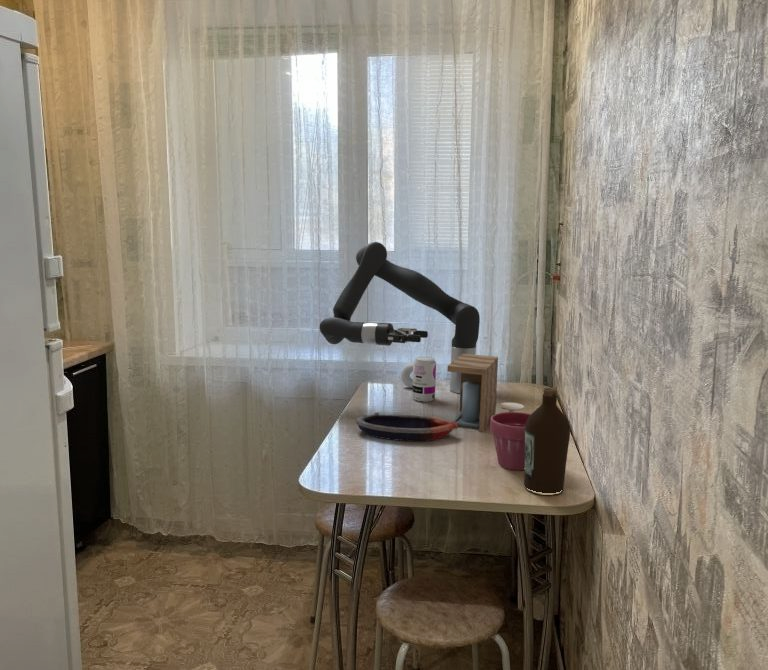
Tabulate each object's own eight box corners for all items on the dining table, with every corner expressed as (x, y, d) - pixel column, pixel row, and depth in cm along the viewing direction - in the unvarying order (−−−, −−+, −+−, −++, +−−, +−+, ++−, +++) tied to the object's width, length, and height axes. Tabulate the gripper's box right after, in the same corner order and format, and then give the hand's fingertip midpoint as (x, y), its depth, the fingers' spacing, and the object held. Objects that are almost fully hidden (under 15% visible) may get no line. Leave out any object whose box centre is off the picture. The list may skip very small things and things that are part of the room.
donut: (427, 388, 264) (428, 362, 262) (425, 390, 260) (426, 364, 259) (401, 386, 266) (402, 361, 264) (399, 388, 263) (400, 362, 261)
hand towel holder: (499, 420, 210) (483, 402, 230) (498, 434, 211) (482, 415, 231) (553, 420, 211) (532, 402, 232) (552, 433, 212) (532, 414, 232)
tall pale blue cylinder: (463, 416, 225) (465, 380, 223) (480, 418, 224) (482, 382, 222) (459, 420, 220) (461, 384, 218) (476, 423, 218) (478, 386, 216)
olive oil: (559, 480, 173) (566, 384, 169) (570, 497, 163) (578, 396, 159) (517, 479, 173) (523, 383, 169) (526, 496, 163) (532, 394, 159)
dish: (361, 424, 217) (361, 409, 216) (458, 431, 212) (459, 415, 212) (351, 439, 202) (351, 423, 201) (455, 447, 197) (456, 430, 196)
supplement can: (435, 397, 251) (436, 357, 249) (434, 403, 243) (436, 361, 241) (412, 395, 252) (414, 356, 249) (411, 401, 244) (412, 360, 241)
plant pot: (478, 464, 183) (480, 418, 181) (505, 451, 194) (507, 408, 192) (525, 478, 174) (528, 430, 172) (551, 464, 185) (554, 418, 183)
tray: (461, 414, 230) (461, 410, 230) (488, 417, 227) (488, 413, 227) (451, 425, 217) (451, 422, 217) (479, 429, 214) (479, 425, 214)
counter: (460, 410, 235) (462, 353, 231) (495, 414, 231) (498, 356, 227) (445, 427, 215) (447, 365, 212) (482, 432, 211) (486, 369, 208)
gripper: (370, 325, 223) (418, 328, 217) (384, 319, 236) (430, 322, 231) (370, 348, 224) (418, 351, 219) (384, 341, 237) (429, 344, 232)
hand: (424, 336), depth 225 cm, fingers open, 8 cm apart
